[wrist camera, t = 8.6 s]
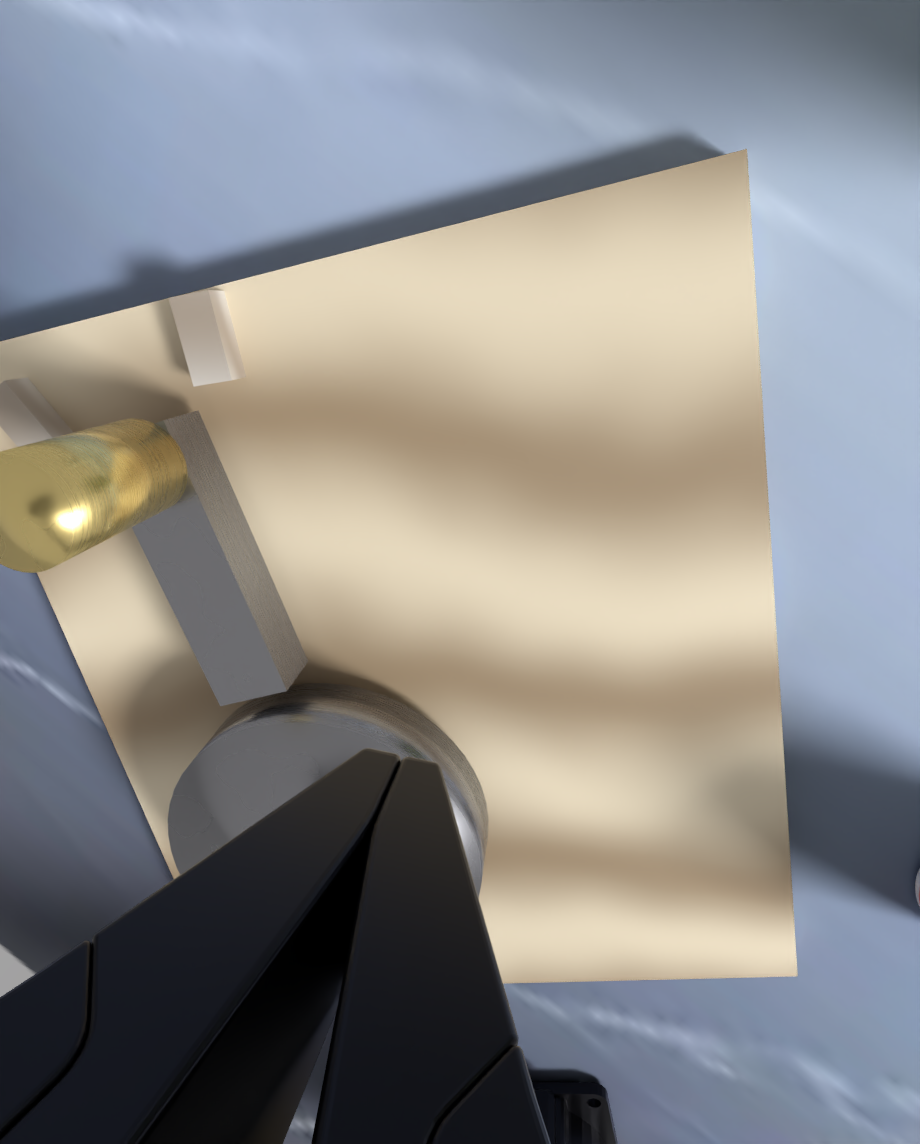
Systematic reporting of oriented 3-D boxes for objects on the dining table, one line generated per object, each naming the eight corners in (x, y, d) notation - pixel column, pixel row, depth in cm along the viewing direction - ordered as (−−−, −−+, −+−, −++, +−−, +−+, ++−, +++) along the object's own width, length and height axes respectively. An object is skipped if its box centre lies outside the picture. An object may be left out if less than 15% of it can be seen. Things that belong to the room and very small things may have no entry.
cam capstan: (525, 903, 21) (513, 1097, 16) (271, 937, 23) (188, 1117, 18) (320, 353, 16) (204, 375, 11) (17, 461, 18) (-203, 523, 13)
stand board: (787, 948, 22) (805, 1000, 21) (235, 966, 26) (213, 1010, 25) (734, 158, 15) (757, 140, 13) (-29, 354, 19) (-87, 359, 17)
